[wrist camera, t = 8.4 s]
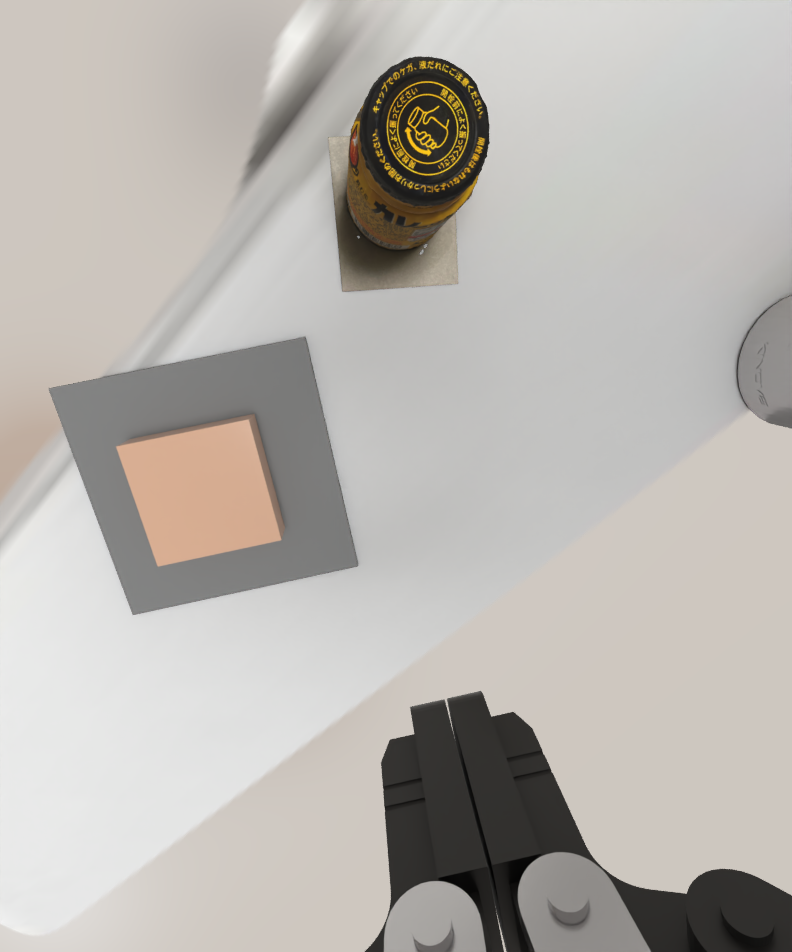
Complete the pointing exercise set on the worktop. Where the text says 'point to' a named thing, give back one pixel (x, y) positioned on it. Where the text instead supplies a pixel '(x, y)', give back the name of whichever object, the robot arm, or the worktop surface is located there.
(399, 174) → the condiment
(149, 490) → the tile
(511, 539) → the worktop surface
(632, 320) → the worktop surface
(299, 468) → the mat
